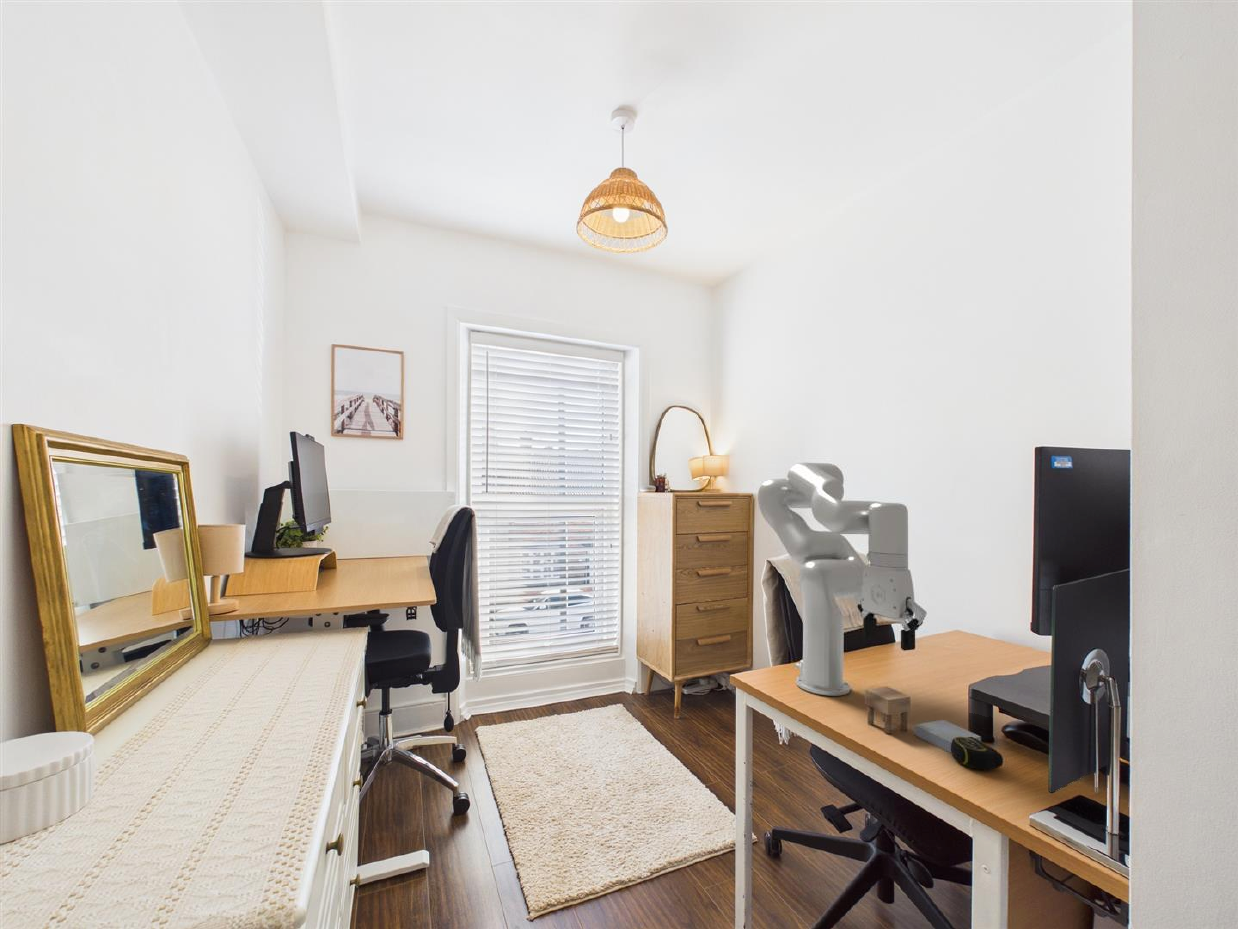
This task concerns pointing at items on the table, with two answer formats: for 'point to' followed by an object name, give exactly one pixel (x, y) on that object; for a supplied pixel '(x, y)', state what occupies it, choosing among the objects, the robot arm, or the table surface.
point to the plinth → (942, 733)
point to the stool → (887, 705)
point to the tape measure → (975, 753)
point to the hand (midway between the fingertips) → (888, 643)
